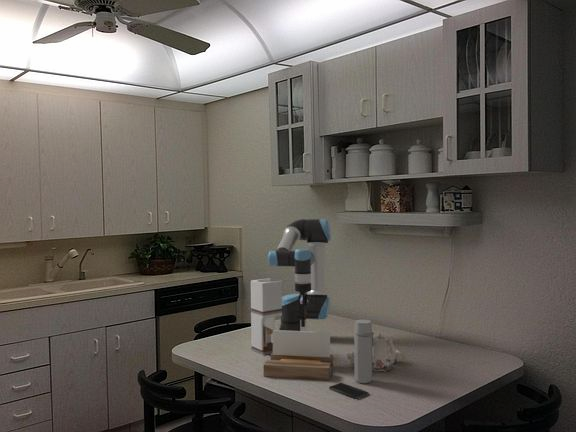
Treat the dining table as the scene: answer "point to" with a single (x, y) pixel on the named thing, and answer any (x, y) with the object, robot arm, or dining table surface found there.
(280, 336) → the duct cover
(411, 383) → the dining table surface
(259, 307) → the wood-lined white cubby
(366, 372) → the water bottle
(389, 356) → the chinaware
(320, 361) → the orange rod
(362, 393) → the phone
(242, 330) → the dining table surface
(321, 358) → the wooden tray
